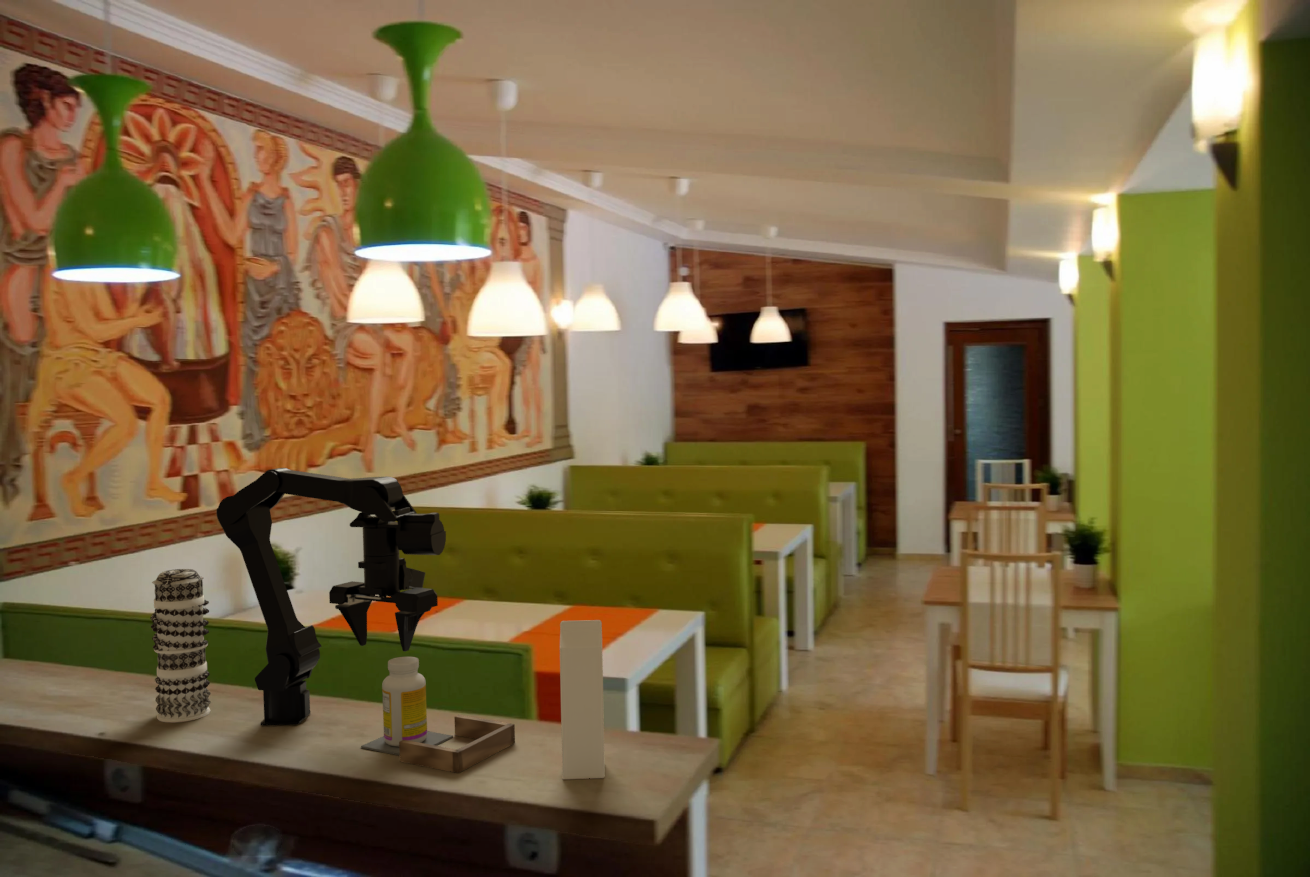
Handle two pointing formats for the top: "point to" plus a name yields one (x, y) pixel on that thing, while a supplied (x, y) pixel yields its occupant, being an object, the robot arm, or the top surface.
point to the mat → (382, 746)
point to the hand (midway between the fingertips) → (384, 648)
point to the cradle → (487, 744)
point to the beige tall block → (582, 699)
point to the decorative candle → (180, 646)
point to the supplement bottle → (404, 702)
